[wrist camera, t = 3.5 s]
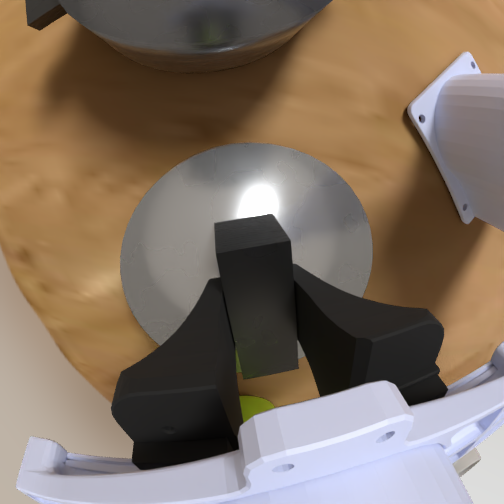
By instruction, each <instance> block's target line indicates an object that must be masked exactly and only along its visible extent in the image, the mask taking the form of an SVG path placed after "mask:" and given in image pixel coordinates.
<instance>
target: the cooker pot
mask: <svg viewBox="0 0 504 504" xmlns="http://www.w3.org/2000/svg"><path fill="white" fill-rule="evenodd" d="M331 1H332V0H26V14H27V24H28V26H30V27H33V28H35V29H37V30H39V31H40V30H42V29H43V28H45V27H46V26H48V25H49V24H51V23H52V22H54V21H55V20H57V19H59V18H60V17H62V16H64V15H65V14H67V13H68V14H69V15H70V16H72V17H73V18H74V19H75V20H77V21H78V22H79V23H81V24H82V25H83V26H85V27H86V28H87V29H89V30H90V31H92V32H93V33H94V34H96V35H97V36H98V37H100V38H101V39H102V40H104V41H105V42H106V43H108V44H109V45H110V46H112V47H113V48H114V49H116V50H117V51H118V52H119V53H121V54H122V55H124V56H126V57H127V58H129V59H130V60H132V61H135V62H137V63H139V64H142V65H144V66H147V67H151V68H154V69H157V70H163V71H169V72H178V73H206V72H215V71H221V70H226V69H231V68H235V67H239V66H242V65H245V64H248V63H251V62H253V61H256V60H258V59H260V58H263V57H265V56H266V55H268V54H270V53H272V52H274V51H275V50H277V49H278V48H280V47H281V46H282V45H284V44H285V43H287V42H288V41H289V40H290V39H291V38H292V37H293V36H294V35H295V34H296V33H297V32H298V31H299V30H300V29H301V28H302V27H303V26H304V25H306V24H307V23H308V22H309V21H310V20H311V19H312V18H313V17H314V16H315V15H316V14H317V13H319V12H320V11H321V10H322V9H323V8H324V7H325V6H326V5H328V4H329V3H330V2H331Z"/></svg>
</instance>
